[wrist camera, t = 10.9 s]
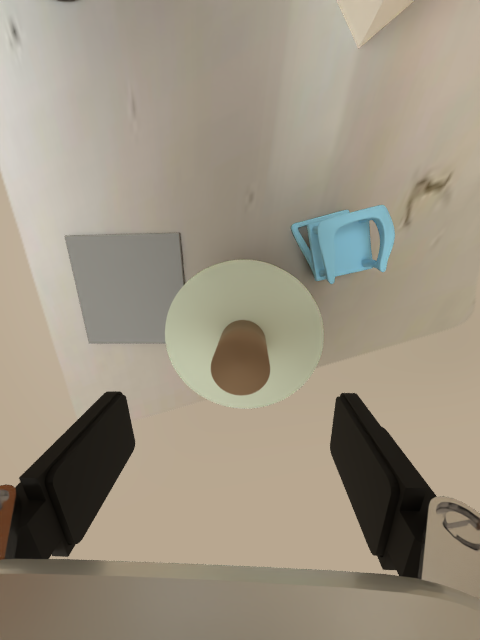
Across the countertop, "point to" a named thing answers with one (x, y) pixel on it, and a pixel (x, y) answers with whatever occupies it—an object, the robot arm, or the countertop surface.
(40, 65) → the countertop surface
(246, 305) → the lid
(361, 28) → the milk
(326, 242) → the chair
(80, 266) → the mat
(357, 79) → the countertop surface
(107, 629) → the robot arm
